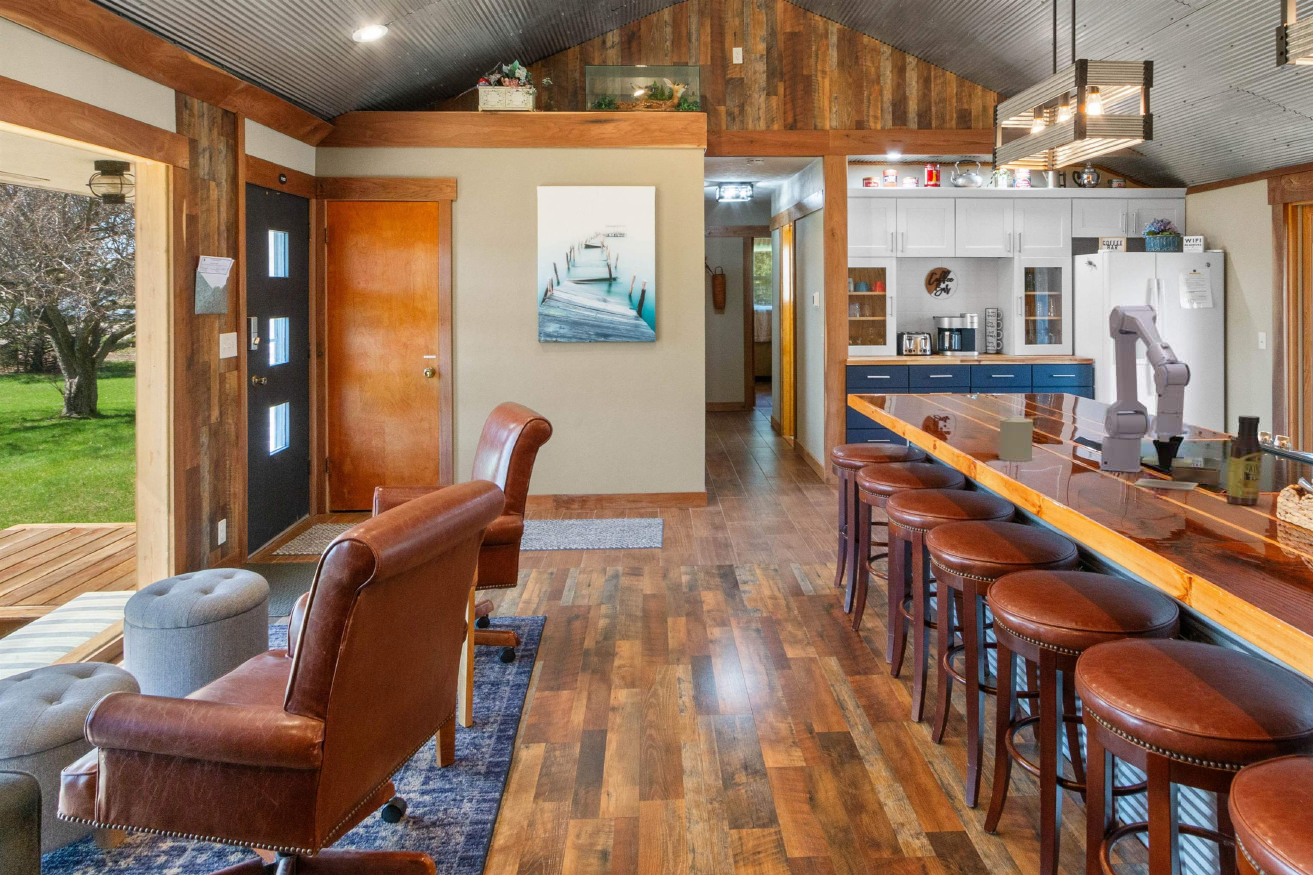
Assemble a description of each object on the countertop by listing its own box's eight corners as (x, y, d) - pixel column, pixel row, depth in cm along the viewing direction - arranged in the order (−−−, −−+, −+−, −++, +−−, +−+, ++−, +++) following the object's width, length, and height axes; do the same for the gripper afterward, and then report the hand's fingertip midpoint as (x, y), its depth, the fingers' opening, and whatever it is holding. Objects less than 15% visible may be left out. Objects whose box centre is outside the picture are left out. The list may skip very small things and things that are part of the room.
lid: (1141, 464, 237) (1142, 459, 237) (1145, 461, 242) (1145, 456, 242) (1190, 468, 231) (1190, 462, 231) (1193, 464, 236) (1193, 459, 236)
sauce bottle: (1245, 507, 211) (1251, 418, 209) (1219, 502, 217) (1224, 415, 214) (1265, 504, 214) (1271, 416, 211) (1238, 499, 220) (1244, 413, 217)
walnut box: (1171, 481, 241) (1172, 468, 241) (1174, 478, 245) (1175, 465, 245) (1216, 485, 235) (1217, 471, 235) (1219, 482, 239) (1220, 468, 239)
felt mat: (1133, 485, 238) (1133, 483, 238) (1140, 479, 245) (1140, 478, 245) (1193, 490, 230) (1193, 489, 230) (1198, 484, 237) (1198, 483, 237)
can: (995, 456, 284) (996, 416, 283) (1027, 456, 284) (1028, 416, 282) (1003, 461, 275) (1004, 420, 274) (1036, 461, 274) (1037, 420, 273)
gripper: (1183, 416, 227) (1180, 472, 229) (1192, 410, 238) (1189, 463, 240) (1150, 415, 231) (1148, 470, 233) (1161, 408, 242) (1158, 461, 244)
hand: (1167, 466), depth 237 cm, fingers closed on lid, 6 cm apart
